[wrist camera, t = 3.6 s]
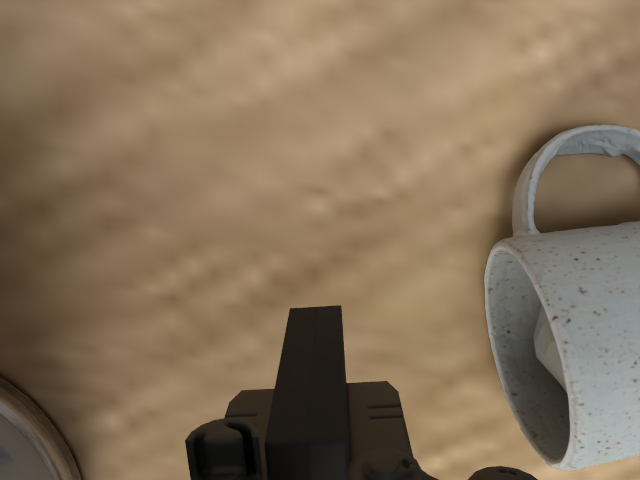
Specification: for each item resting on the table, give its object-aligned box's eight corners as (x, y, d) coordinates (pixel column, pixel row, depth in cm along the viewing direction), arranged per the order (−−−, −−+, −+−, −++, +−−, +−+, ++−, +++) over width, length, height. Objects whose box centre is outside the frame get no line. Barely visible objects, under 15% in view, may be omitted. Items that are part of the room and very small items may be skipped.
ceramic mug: (691, 361, 23) (865, 482, 16) (494, 394, 24) (572, 527, 16) (678, 104, 21) (877, 101, 13) (460, 146, 21) (532, 167, 14)
